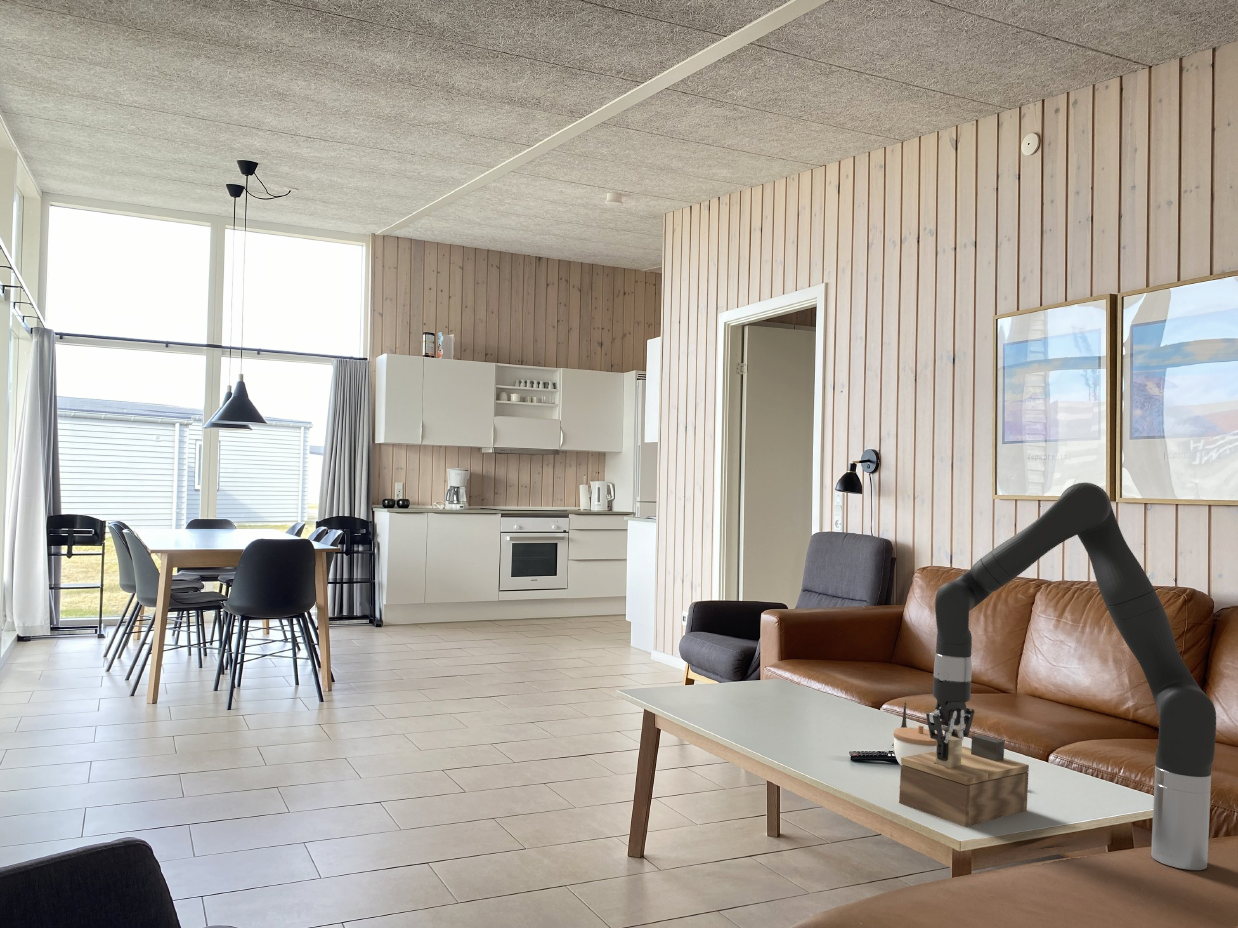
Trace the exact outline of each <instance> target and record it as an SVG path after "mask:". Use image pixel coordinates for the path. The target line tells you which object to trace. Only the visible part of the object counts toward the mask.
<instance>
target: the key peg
mask: <svg viewBox="0 0 1238 928" xmlns="http://www.w3.org/2000/svg"><path fill="white" fill-rule="evenodd" d="M948 743H949V747H948V760H947V761H942V760H939V759H938V758H937V746H936V764H937V765H940V766H944V767H947V768H950V769H951V768H956V767H961V754H962V747H963V740H962V739H960V738H957V737H953V736H949V742H948Z"/></svg>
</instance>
